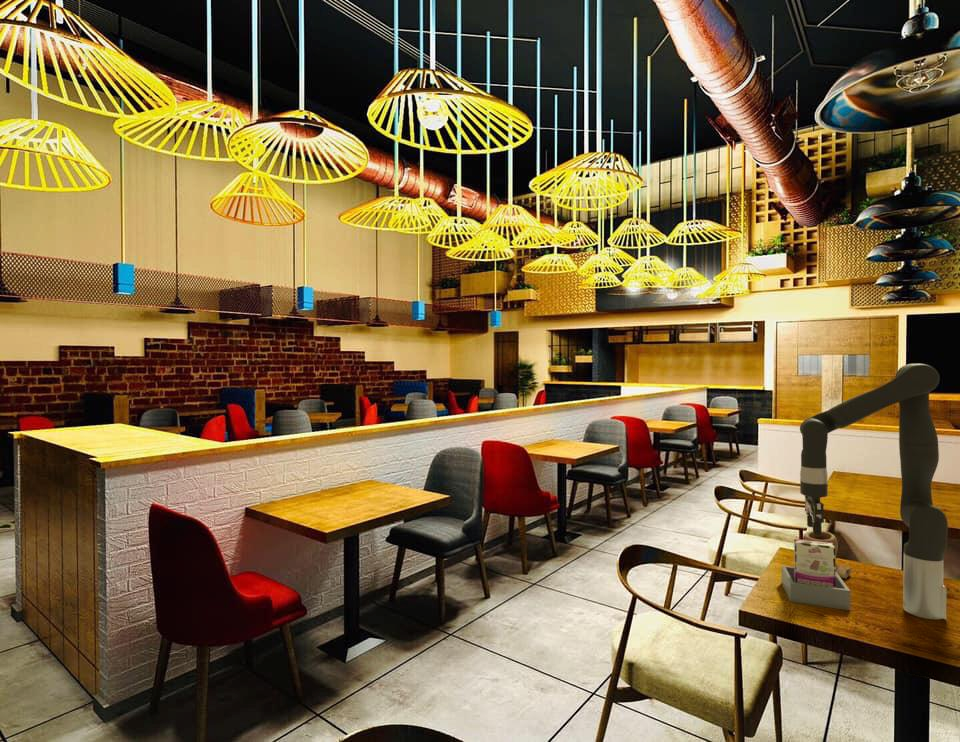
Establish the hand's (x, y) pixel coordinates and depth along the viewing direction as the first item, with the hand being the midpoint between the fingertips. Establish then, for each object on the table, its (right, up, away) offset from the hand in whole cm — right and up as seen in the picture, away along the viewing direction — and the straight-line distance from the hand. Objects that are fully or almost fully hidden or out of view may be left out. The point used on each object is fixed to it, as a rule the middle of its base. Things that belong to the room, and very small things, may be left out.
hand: (814, 530), depth 172 cm
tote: (0, -21, 0) cm, 21 cm away
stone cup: (+15, -21, +18) cm, 32 cm away
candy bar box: (0, -20, 0) cm, 20 cm away
